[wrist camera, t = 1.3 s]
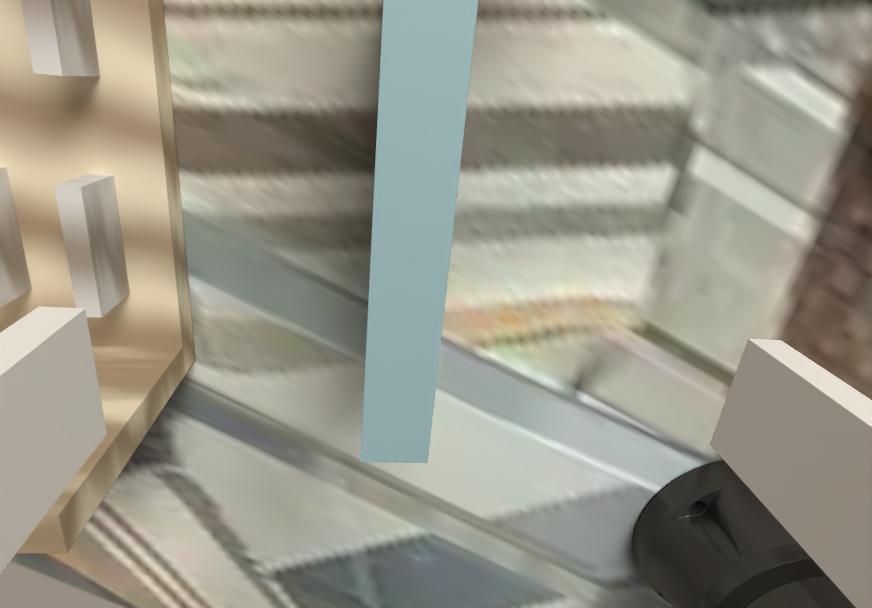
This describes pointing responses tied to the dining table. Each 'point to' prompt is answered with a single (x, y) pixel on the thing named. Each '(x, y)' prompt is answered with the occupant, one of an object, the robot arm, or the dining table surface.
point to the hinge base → (95, 215)
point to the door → (413, 217)
